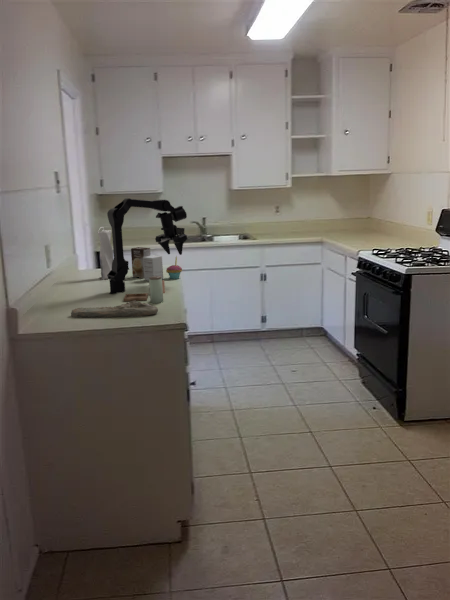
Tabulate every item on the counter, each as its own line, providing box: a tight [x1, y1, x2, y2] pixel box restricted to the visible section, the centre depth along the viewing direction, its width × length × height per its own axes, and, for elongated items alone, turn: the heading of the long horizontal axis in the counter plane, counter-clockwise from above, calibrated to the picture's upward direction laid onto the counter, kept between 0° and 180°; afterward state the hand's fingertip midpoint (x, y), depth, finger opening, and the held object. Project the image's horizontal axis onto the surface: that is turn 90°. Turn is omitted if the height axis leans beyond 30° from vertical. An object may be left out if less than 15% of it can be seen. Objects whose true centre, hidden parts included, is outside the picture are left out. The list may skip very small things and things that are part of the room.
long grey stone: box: [70, 300, 159, 318], centre depth 228 cm, size 35×5×10 cm
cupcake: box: [166, 255, 183, 280], centre depth 305 cm, size 9×8×12 cm
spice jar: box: [148, 276, 164, 304], centre depth 248 cm, size 6×6×11 cm
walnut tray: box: [123, 292, 149, 303], centre depth 255 cm, size 10×10×2 cm
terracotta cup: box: [162, 279, 166, 294], centre depth 267 cm, size 6×6×6 cm
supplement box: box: [143, 254, 164, 282], centre depth 303 cm, size 7×7×13 cm
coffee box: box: [130, 246, 151, 279], centre depth 313 cm, size 9×6×16 cm
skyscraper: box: [97, 226, 114, 281], centre depth 311 cm, size 8×8×28 cm
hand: (175, 254), depth 288 cm, fingers open, 9 cm apart
